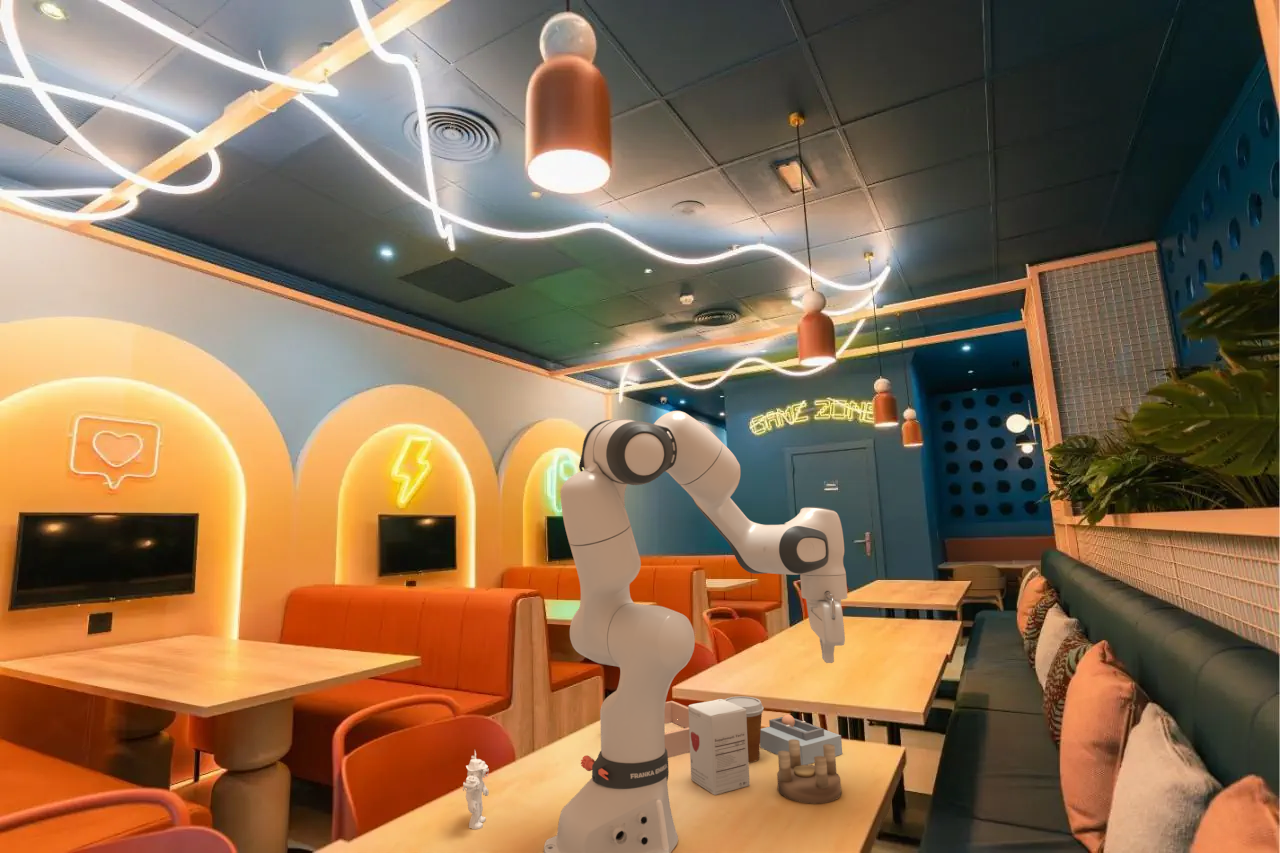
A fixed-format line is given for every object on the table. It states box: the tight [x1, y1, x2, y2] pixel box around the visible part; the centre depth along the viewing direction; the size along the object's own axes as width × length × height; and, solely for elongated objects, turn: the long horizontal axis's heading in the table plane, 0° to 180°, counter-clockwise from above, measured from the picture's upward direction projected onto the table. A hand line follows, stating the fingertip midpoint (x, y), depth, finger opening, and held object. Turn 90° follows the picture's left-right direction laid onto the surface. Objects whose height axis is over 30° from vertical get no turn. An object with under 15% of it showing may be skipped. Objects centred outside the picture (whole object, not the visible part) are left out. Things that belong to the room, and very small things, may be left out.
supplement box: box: [687, 698, 751, 796], centre depth 132 cm, size 9×9×15 cm
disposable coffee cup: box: [724, 695, 764, 763], centre depth 145 cm, size 10×10×12 cm
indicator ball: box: [782, 714, 795, 727], centre depth 151 cm, size 3×3×3 cm
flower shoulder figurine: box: [462, 750, 490, 830], centre depth 117 cm, size 9×4×12 cm, turn 178°
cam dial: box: [776, 739, 842, 804], centre depth 126 cm, size 12×12×8 cm
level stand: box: [760, 716, 843, 765], centre depth 148 cm, size 12×14×6 cm
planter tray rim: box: [665, 700, 690, 758], centre depth 158 cm, size 21×22×5 cm
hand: (828, 661), depth 126 cm, fingers closed
